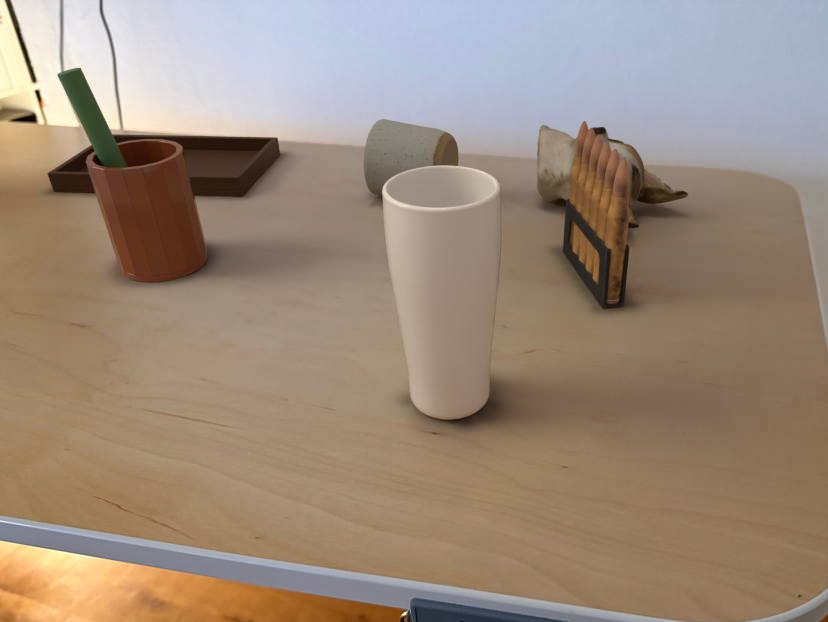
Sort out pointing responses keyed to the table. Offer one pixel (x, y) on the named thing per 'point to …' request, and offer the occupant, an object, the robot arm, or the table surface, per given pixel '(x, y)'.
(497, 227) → the drinking glass
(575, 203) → the ammunition clip
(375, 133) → the ceramic mug
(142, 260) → the tumbler
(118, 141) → the tray
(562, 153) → the ceramic sculpture
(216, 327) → the table surface
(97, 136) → the straw
